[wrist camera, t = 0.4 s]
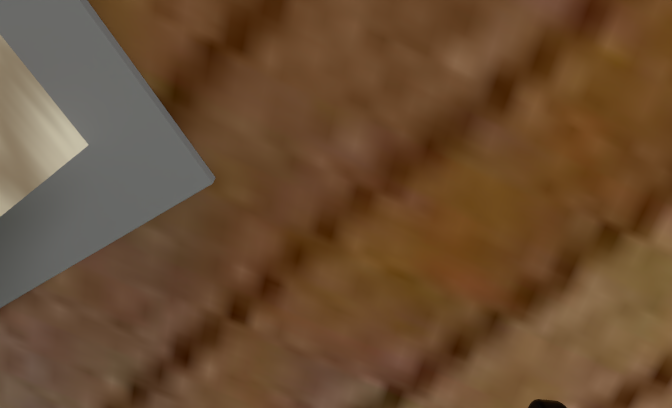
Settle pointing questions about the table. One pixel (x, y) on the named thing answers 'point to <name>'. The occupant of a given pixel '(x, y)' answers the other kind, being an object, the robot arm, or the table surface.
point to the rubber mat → (89, 146)
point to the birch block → (29, 132)
